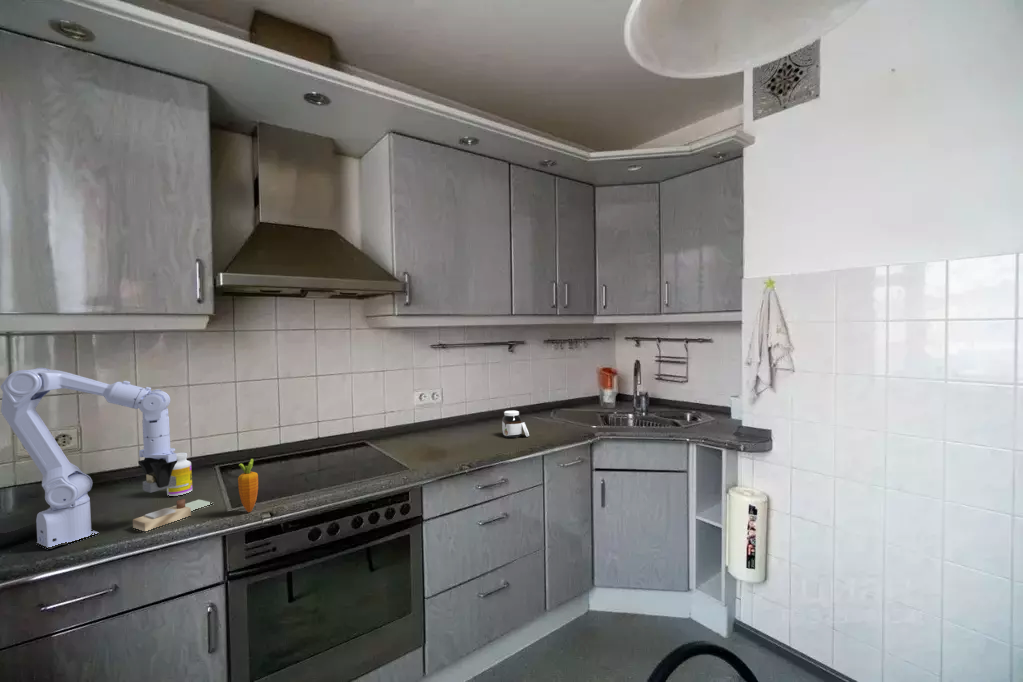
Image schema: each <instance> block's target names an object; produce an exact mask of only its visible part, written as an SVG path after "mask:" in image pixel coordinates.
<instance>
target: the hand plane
mask: <svg viewBox="0 0 1023 682" xmlns="http://www.w3.org/2000/svg"><path fill="white" fill-rule="evenodd" d="M175 504H176V505H173V506H171V507H164V508H161V509H158V510H155V511H152V512H149V513H146V514H144V515H143V516H140V517H139V516H138V517H136V518H133V519H132V529H133V528H136V529H139V530H142V531H148V530H151V529H153V528H156V527H159V526H162V525H165V524H168V523H171V522H174V521H177V520H180V519H182V518H185V517H188V516H191V517H192V512H191V508H189V507H185V504H186V499H185V498H182V499H180V498H179V499H178V500H176V503H175ZM180 521H181V520H180ZM177 522H178V521H177Z"/></svg>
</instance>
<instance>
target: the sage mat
mask: <svg viewBox="0 0 1023 682" xmlns="http://www.w3.org/2000/svg"><path fill="white" fill-rule="evenodd" d="M210 502H211V501H207V500H204V499H196V500H192V501H190V502H187V503H186V502H185V507H189V508H191V511H193V510H195V509H198V508H201V507H204V506H207V505H210ZM212 503H213V502H212ZM212 503H211V504H212ZM210 506H211V505H210ZM207 507H208V506H207ZM204 508H205V507H204ZM193 512H194V511H193Z"/></svg>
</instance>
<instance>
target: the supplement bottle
mask: <svg viewBox="0 0 1023 682" xmlns="http://www.w3.org/2000/svg"><path fill="white" fill-rule="evenodd" d="M175 453H176V456H177V463H176V464H175V466H174V468H173V471H172V473H171V476H175V477H176V486H172V487H169V488H166V494H167V496H168V495H169V496H178V495H183V494H186V493H189V492H191V491H192V492H193V475H192V474H193V472H192V462H191V461H190V460H187V458H188V453H187V452H175ZM192 492H191V493H192ZM189 494H190V493H189ZM186 495H187V494H186ZM169 496H168V497H169ZM183 496H184V495H183ZM178 497H179V496H178Z"/></svg>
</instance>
